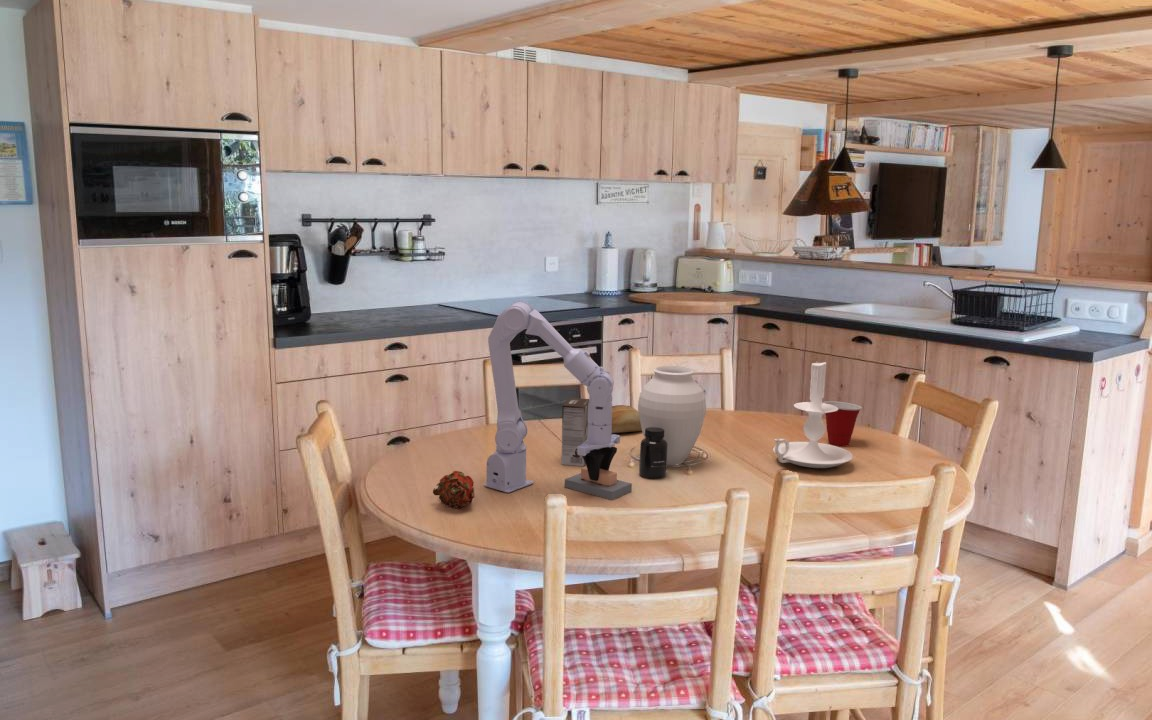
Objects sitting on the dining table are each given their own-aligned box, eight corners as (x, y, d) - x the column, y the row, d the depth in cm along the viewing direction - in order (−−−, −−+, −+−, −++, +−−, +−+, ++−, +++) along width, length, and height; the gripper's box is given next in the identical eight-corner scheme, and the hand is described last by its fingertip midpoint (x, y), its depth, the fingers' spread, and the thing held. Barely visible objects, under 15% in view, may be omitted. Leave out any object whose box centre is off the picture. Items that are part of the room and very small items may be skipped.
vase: (622, 460, 236) (625, 368, 231) (663, 448, 248) (666, 360, 244) (676, 476, 224) (680, 379, 219) (716, 461, 237) (721, 370, 232)
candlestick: (744, 461, 238) (751, 358, 233) (809, 448, 251) (816, 351, 246) (802, 482, 221) (810, 372, 216) (868, 468, 234) (877, 364, 229)
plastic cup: (866, 445, 256) (870, 405, 253) (842, 451, 250) (845, 409, 247) (836, 436, 264) (839, 397, 262) (812, 441, 258) (815, 401, 256)
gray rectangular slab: (612, 500, 205) (612, 491, 205) (564, 487, 213) (564, 479, 213) (631, 491, 211) (631, 483, 211) (584, 479, 220) (584, 471, 219)
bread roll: (590, 431, 265) (591, 405, 263) (631, 425, 272) (632, 400, 271) (609, 439, 257) (609, 412, 255) (650, 432, 265) (651, 406, 263)
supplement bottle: (658, 481, 219) (660, 434, 217) (634, 476, 223) (635, 430, 221) (670, 474, 225) (672, 428, 223) (646, 469, 229) (648, 424, 227)
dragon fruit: (461, 522, 194) (445, 512, 204) (489, 495, 196) (473, 487, 207) (437, 494, 191) (422, 485, 202) (466, 467, 194) (451, 460, 205)
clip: (609, 494, 209) (609, 475, 208) (580, 487, 214) (581, 468, 213) (616, 491, 211) (616, 472, 210) (588, 484, 216) (588, 465, 215)
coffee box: (568, 455, 240) (569, 397, 237) (591, 456, 239) (592, 398, 236) (560, 464, 231) (561, 404, 228) (584, 466, 230) (586, 406, 227)
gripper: (595, 431, 201) (593, 489, 204) (631, 420, 213) (629, 474, 215) (570, 426, 206) (569, 482, 208) (607, 415, 217) (605, 468, 219)
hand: (598, 478), depth 212 cm, fingers closed on clip, 3 cm apart
